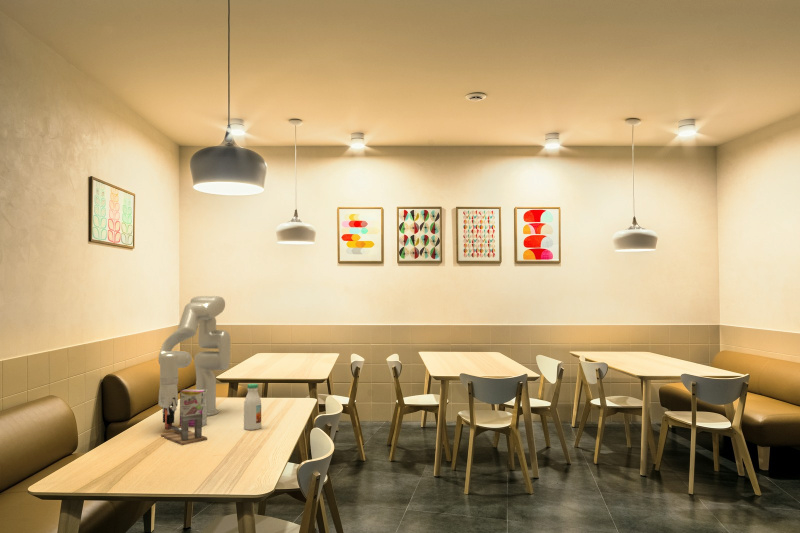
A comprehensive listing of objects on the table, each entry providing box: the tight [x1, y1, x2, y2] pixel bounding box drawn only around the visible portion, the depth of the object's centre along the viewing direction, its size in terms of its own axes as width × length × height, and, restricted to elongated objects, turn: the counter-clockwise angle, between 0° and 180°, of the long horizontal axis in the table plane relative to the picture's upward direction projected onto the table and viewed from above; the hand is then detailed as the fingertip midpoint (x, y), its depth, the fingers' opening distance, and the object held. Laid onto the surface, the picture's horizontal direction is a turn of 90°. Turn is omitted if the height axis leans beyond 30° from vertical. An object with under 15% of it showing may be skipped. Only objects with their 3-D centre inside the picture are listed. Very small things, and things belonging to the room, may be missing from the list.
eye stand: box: [160, 413, 208, 446], centre depth 237 cm, size 20×11×11 cm, turn 46°
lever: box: [164, 408, 181, 433], centre depth 243 cm, size 17×3×9 cm, turn 46°
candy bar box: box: [179, 388, 208, 428], centre depth 259 cm, size 11×5×16 cm, turn 84°
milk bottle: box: [243, 383, 262, 431], centre depth 254 cm, size 8×8×20 cm
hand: (168, 422), depth 248 cm, fingers closed on lever, 3 cm apart
